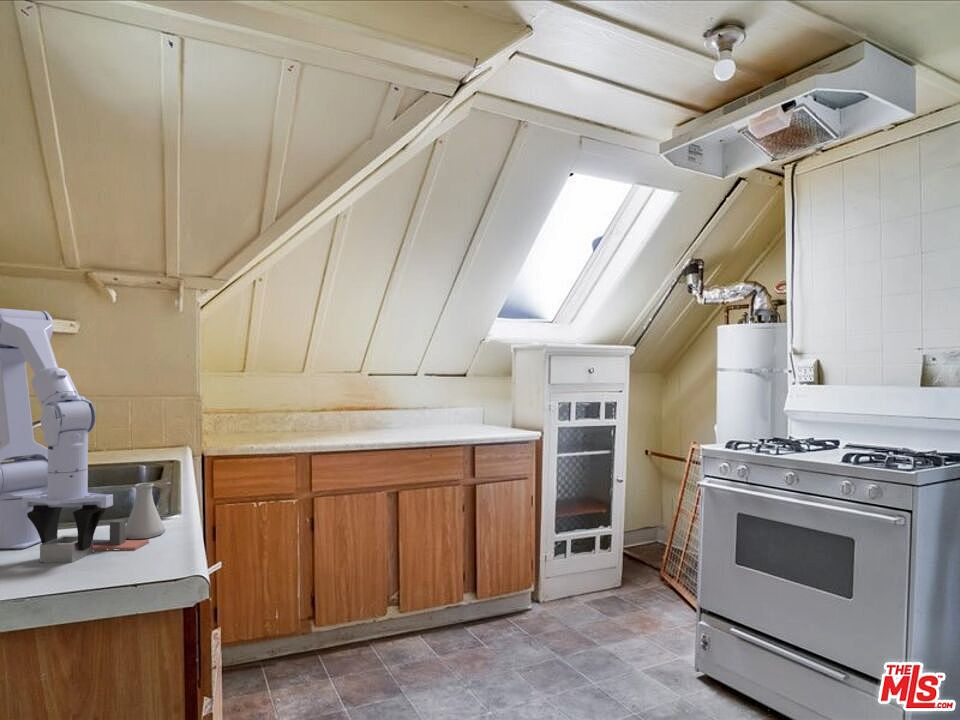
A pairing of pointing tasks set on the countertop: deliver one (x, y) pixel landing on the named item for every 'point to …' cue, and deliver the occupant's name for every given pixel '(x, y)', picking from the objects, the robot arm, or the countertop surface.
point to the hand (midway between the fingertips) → (67, 549)
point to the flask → (144, 515)
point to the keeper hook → (118, 538)
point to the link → (63, 549)
